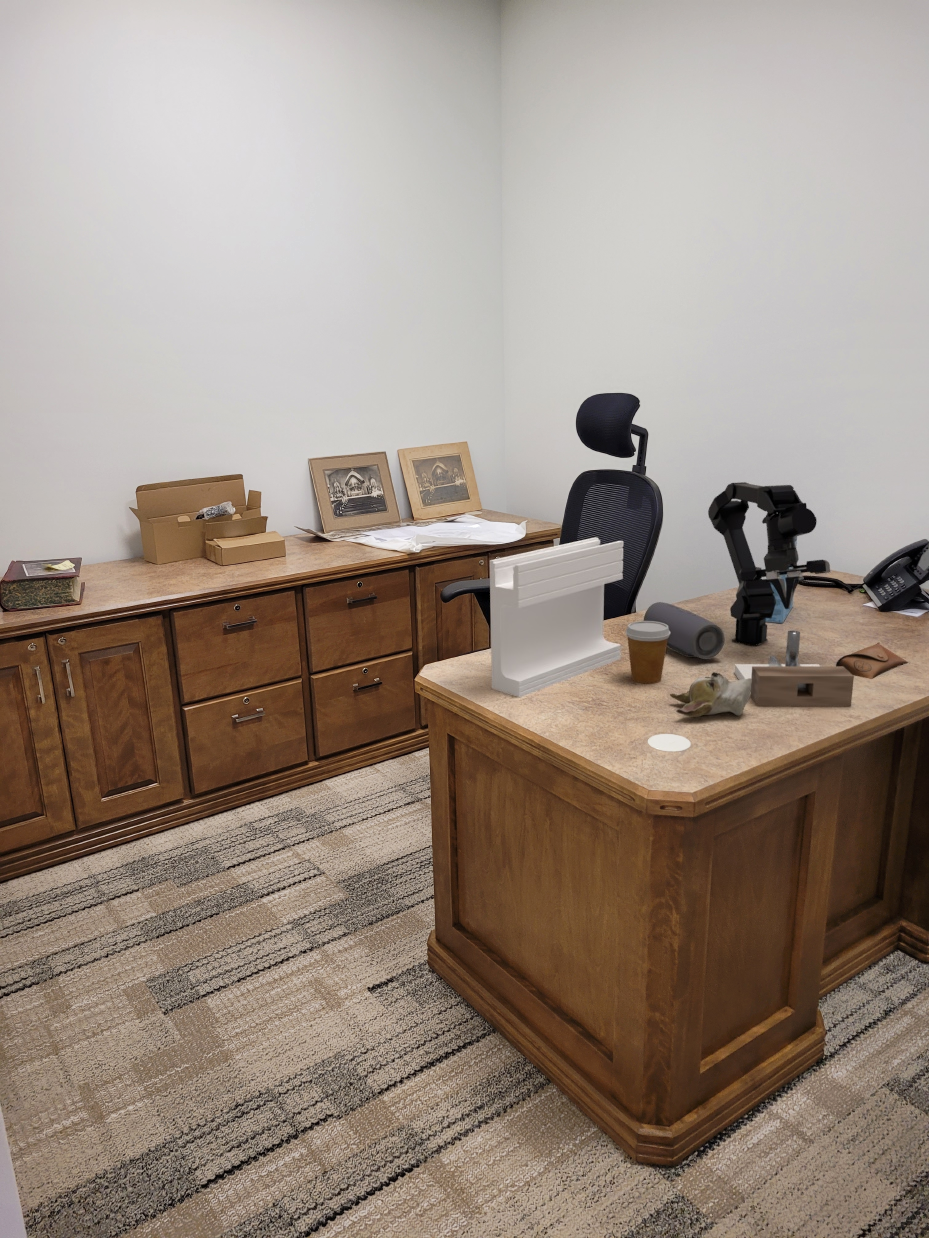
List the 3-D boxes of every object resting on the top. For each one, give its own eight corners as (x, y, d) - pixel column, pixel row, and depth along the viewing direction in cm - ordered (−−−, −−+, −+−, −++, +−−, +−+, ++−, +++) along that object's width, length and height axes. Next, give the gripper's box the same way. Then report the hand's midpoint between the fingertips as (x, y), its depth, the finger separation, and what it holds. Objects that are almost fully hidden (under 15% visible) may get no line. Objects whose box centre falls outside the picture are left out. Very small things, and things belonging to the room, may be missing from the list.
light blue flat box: (782, 624, 230) (789, 538, 224) (762, 622, 232) (768, 537, 226) (793, 607, 246) (799, 526, 240) (774, 605, 249) (779, 525, 243)
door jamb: (750, 695, 179) (752, 666, 177) (840, 695, 178) (843, 666, 176) (757, 706, 173) (759, 676, 171) (850, 706, 172) (853, 676, 170)
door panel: (734, 672, 193) (735, 652, 192) (817, 672, 191) (819, 652, 190) (746, 689, 182) (747, 668, 181) (834, 689, 181) (836, 667, 180)
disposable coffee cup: (670, 673, 193) (672, 621, 190) (665, 687, 185) (667, 633, 181) (627, 670, 196) (629, 619, 193) (620, 684, 188) (622, 630, 184)
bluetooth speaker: (640, 640, 219) (641, 601, 216) (673, 636, 221) (674, 598, 219) (690, 666, 198) (692, 624, 195) (725, 661, 201) (727, 620, 198)
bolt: (782, 676, 183) (786, 630, 180) (794, 676, 182) (798, 630, 180) (794, 689, 175) (798, 641, 172) (806, 689, 175) (810, 641, 172)
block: (593, 652, 210) (595, 537, 203) (620, 659, 205) (623, 541, 197) (491, 688, 187) (489, 560, 180) (519, 697, 181) (518, 565, 174)
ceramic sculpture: (758, 679, 162) (676, 683, 164) (758, 723, 164) (677, 726, 166) (745, 662, 172) (668, 666, 174) (745, 703, 175) (669, 707, 176)
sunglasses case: (872, 679, 186) (859, 650, 187) (843, 688, 192) (831, 660, 193) (910, 661, 197) (898, 634, 198) (882, 670, 203) (870, 644, 204)
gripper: (729, 543, 196) (736, 612, 195) (817, 532, 186) (824, 605, 185) (743, 546, 205) (748, 612, 204) (827, 535, 195) (833, 605, 194)
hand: (787, 608), depth 197 cm, fingers closed
